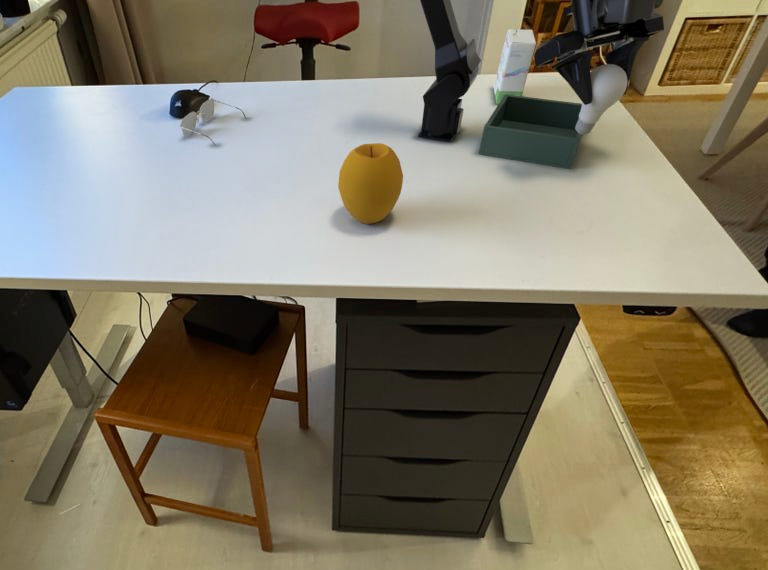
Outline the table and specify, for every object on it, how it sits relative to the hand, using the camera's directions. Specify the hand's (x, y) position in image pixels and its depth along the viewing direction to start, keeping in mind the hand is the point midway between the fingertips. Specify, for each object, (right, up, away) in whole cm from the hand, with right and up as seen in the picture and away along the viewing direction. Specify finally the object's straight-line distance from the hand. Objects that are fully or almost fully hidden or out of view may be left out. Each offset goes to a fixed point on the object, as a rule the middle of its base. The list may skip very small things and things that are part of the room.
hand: (605, 99), depth 83 cm
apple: (-36, -18, +3) cm, 40 cm away
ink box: (-2, +16, +32) cm, 36 cm away
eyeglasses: (-64, +8, +29) cm, 71 cm away
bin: (-4, 0, +17) cm, 17 cm away
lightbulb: (0, -3, +6) cm, 7 cm away
